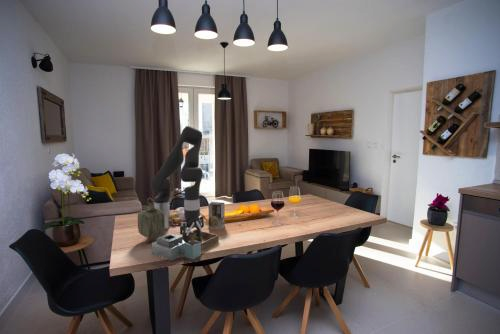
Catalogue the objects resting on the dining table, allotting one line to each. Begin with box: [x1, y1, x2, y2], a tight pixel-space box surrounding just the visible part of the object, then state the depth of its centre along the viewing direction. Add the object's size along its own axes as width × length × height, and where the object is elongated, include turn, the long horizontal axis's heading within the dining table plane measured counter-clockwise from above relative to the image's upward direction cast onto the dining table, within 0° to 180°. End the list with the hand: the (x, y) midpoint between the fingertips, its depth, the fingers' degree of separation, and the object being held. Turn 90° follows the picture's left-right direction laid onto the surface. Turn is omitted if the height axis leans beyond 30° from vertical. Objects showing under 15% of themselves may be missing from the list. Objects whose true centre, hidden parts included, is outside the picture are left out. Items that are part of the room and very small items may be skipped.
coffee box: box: [207, 201, 226, 230], centre depth 179 cm, size 9×6×16 cm
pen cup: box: [184, 241, 202, 260], centre depth 137 cm, size 6×6×7 cm
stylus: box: [190, 230, 195, 245], centre depth 136 cm, size 2×2×12 cm
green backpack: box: [137, 197, 166, 243], centre depth 154 cm, size 14×9×25 cm, turn 48°
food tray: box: [169, 206, 202, 227], centre depth 193 cm, size 25×24×9 cm
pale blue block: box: [151, 232, 186, 262], centre depth 139 cm, size 14×11×8 cm
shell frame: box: [180, 229, 220, 252], centre depth 152 cm, size 17×16×4 cm
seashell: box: [188, 231, 203, 243], centre depth 151 cm, size 11×12×10 cm
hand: (192, 239), depth 136 cm, fingers open, 8 cm apart
